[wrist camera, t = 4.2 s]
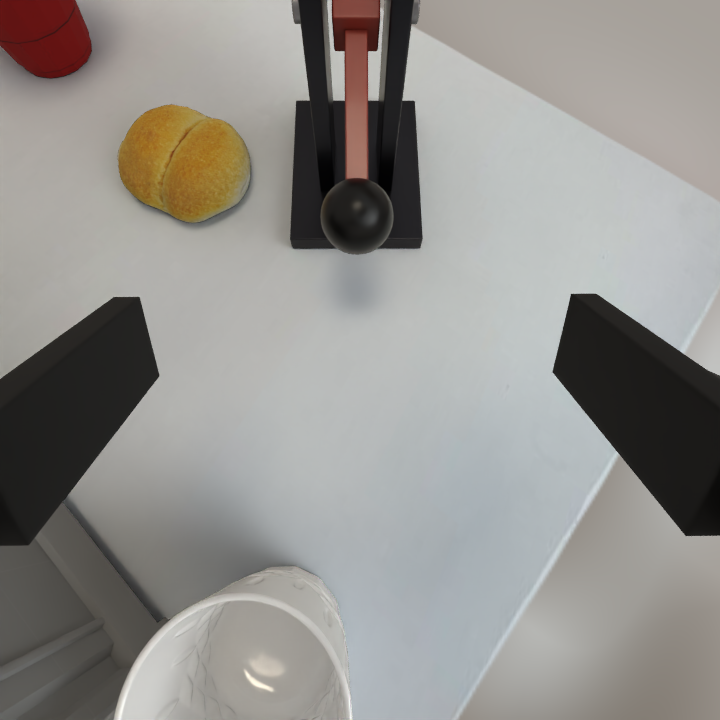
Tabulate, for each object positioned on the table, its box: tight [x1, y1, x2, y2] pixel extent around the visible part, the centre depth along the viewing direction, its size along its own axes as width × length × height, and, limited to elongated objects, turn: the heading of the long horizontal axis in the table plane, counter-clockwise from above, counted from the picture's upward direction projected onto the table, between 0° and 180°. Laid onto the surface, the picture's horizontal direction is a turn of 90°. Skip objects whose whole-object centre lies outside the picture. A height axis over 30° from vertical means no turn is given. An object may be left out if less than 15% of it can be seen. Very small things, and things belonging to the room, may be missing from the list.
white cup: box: [114, 566, 352, 720], centre depth 19 cm, size 8×8×10 cm
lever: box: [321, 0, 394, 255], centre depth 21 cm, size 13×4×4 cm, turn 1°
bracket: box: [290, 0, 422, 248], centre depth 26 cm, size 12×9×14 cm
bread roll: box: [117, 105, 251, 223], centre depth 30 cm, size 8×9×4 cm
